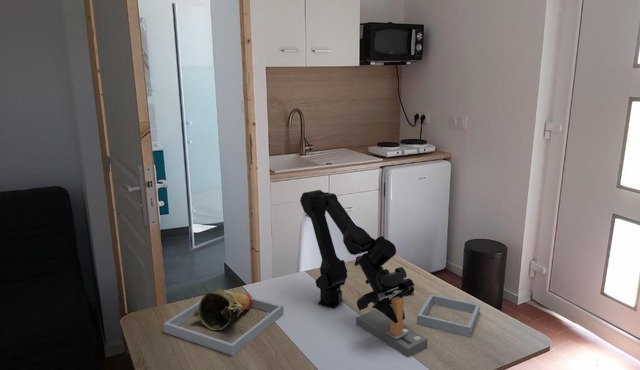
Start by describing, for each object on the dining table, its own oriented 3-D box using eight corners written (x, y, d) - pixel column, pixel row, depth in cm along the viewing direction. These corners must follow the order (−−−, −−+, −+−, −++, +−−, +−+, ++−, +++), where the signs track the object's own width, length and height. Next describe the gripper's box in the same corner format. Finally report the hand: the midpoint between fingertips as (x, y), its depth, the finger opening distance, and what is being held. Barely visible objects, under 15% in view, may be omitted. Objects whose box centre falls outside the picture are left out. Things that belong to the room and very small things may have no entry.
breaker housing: (356, 324, 146) (356, 316, 145) (374, 316, 151) (375, 309, 150) (407, 357, 129) (408, 348, 129) (427, 346, 134) (427, 338, 133)
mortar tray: (164, 332, 142) (163, 323, 141) (220, 296, 164) (219, 289, 164) (232, 355, 130) (232, 346, 129) (283, 314, 152) (283, 305, 152)
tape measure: (414, 295, 165) (415, 285, 164) (397, 298, 163) (397, 288, 162) (405, 287, 172) (406, 277, 171) (388, 289, 170) (388, 280, 169)
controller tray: (416, 323, 146) (417, 315, 145) (430, 302, 160) (431, 294, 159) (469, 337, 139) (470, 327, 138) (479, 313, 152) (480, 304, 152)
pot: (266, 281, 155) (232, 286, 137) (272, 318, 152) (237, 328, 135) (221, 289, 162) (183, 295, 145) (226, 325, 160) (187, 335, 142)
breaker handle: (385, 333, 136) (386, 298, 133) (396, 328, 138) (397, 294, 136) (396, 340, 132) (397, 304, 130) (407, 334, 135) (408, 299, 132)
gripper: (364, 268, 128) (392, 321, 122) (411, 252, 139) (439, 300, 133) (345, 284, 136) (370, 335, 130) (391, 268, 147) (416, 314, 141)
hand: (400, 321), depth 133 cm, fingers closed on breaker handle, 2 cm apart
